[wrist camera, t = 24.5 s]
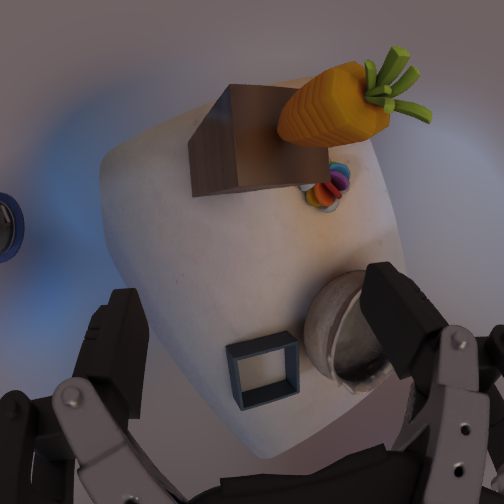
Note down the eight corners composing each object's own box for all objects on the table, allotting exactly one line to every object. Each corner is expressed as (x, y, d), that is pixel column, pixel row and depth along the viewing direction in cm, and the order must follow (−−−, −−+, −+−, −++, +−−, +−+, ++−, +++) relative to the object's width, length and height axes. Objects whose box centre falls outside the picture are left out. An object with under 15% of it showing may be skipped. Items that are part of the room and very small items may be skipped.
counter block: (192, 197, 45) (238, 187, 23) (187, 142, 44) (229, 83, 21) (246, 192, 48) (331, 182, 26) (241, 139, 47) (320, 91, 24)
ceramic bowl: (264, 316, 53) (305, 351, 39) (343, 238, 56) (398, 248, 43) (320, 377, 60) (361, 411, 46) (383, 308, 64) (430, 328, 50)
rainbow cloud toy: (289, 188, 51) (310, 186, 44) (317, 151, 52) (340, 144, 45) (320, 218, 54) (343, 221, 47) (345, 181, 55) (370, 179, 48)
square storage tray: (233, 396, 53) (241, 411, 49) (225, 345, 51) (233, 358, 46) (288, 380, 57) (299, 392, 53) (286, 330, 55) (298, 340, 50)
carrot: (310, 158, 25) (457, 130, 11) (259, 164, 23) (401, 123, 9) (300, 106, 24) (433, 44, 10) (249, 107, 22) (370, 18, 8)
